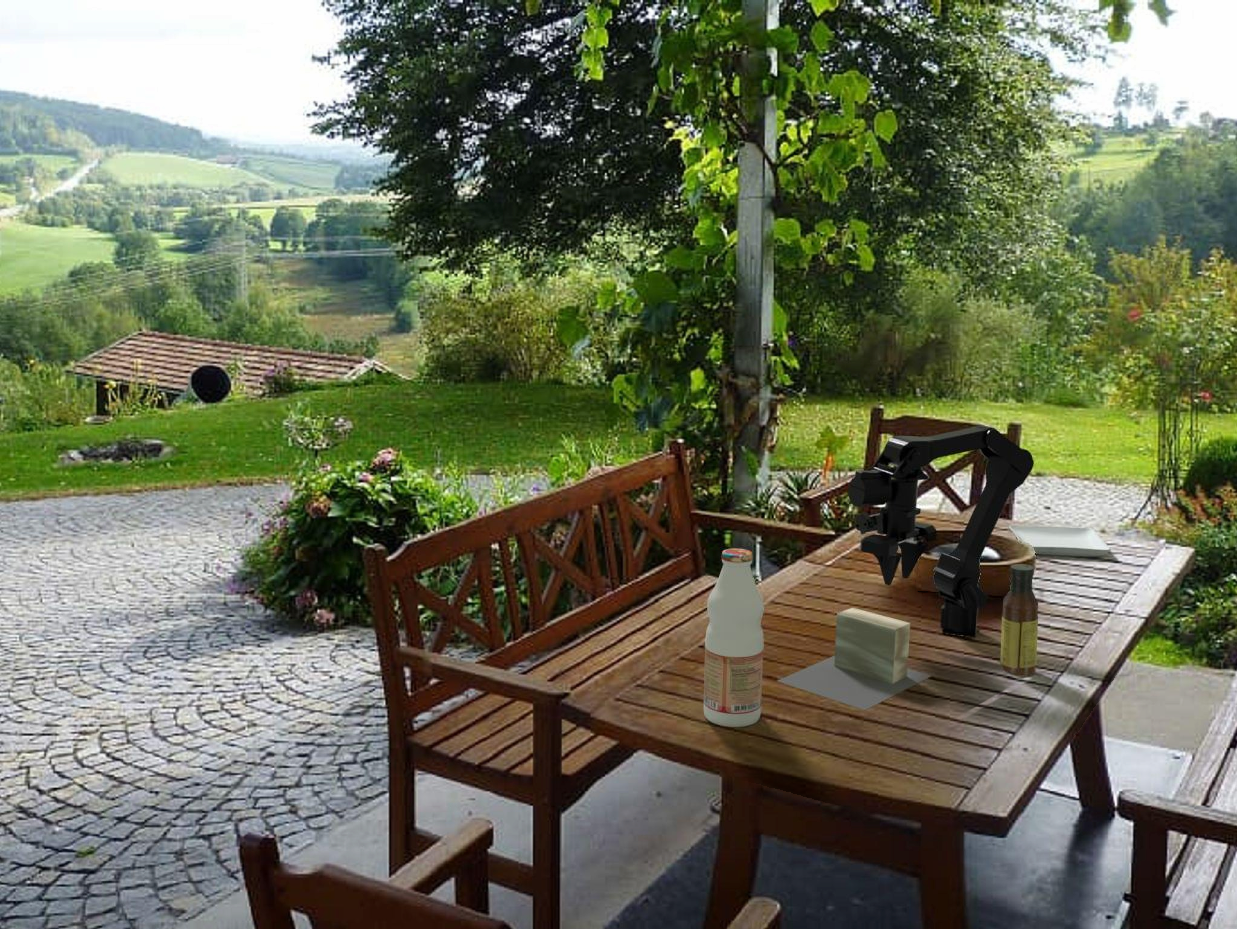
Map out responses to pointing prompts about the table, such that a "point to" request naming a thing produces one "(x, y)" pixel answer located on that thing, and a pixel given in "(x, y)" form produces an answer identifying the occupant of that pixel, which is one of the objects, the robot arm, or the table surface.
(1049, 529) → the salad plate
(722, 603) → the white milk bottle
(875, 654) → the birch block
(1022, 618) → the sauce bottle
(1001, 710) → the table surface
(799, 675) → the rubber mat
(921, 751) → the table surface
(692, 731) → the table surface
